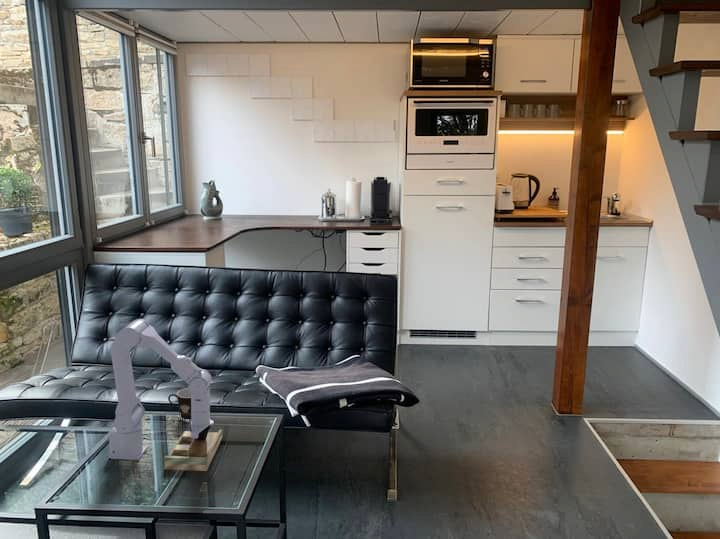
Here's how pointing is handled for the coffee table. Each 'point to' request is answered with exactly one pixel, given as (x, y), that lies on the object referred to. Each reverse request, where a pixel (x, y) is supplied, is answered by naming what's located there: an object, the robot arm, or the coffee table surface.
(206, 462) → the trap deck
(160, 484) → the coffee table surface
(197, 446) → the walnut block
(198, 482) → the coffee table surface
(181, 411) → the coffee mug
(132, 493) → the coffee table surface
